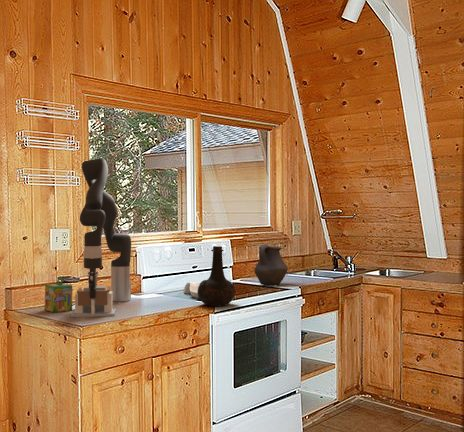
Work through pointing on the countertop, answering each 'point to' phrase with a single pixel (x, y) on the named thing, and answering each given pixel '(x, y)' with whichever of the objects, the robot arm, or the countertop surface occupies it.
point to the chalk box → (58, 297)
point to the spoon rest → (191, 288)
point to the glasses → (99, 295)
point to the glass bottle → (216, 283)
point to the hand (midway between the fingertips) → (92, 297)
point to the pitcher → (270, 266)
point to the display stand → (94, 306)
